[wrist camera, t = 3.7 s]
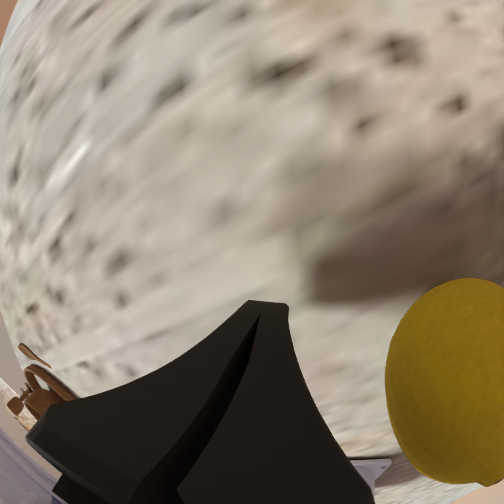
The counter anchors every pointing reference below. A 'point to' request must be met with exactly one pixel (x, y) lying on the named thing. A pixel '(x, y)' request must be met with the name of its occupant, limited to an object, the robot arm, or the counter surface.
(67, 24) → the counter surface
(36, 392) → the place setting
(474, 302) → the lemon
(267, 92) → the counter surface
